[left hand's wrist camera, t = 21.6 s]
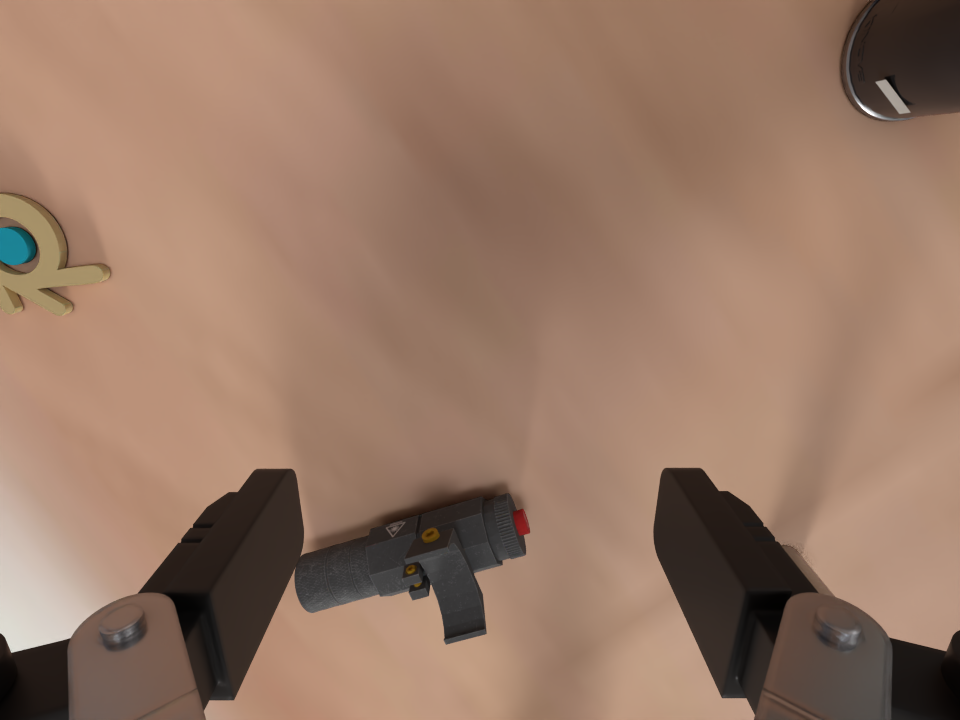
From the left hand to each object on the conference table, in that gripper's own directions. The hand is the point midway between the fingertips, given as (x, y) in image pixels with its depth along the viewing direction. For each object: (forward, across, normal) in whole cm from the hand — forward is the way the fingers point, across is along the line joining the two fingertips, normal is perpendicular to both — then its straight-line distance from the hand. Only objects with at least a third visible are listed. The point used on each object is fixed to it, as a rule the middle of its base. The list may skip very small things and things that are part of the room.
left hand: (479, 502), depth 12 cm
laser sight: (+35, -6, -28) cm, 45 cm away
